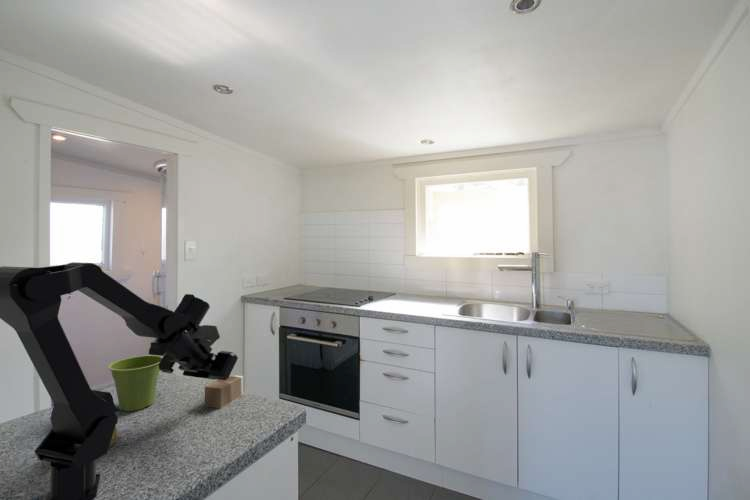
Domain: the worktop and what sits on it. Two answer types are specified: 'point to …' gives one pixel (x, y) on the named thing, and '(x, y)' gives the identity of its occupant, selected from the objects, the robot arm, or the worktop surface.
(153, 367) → the plant pot
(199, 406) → the worktop surface
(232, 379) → the walnut block
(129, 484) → the worktop surface
